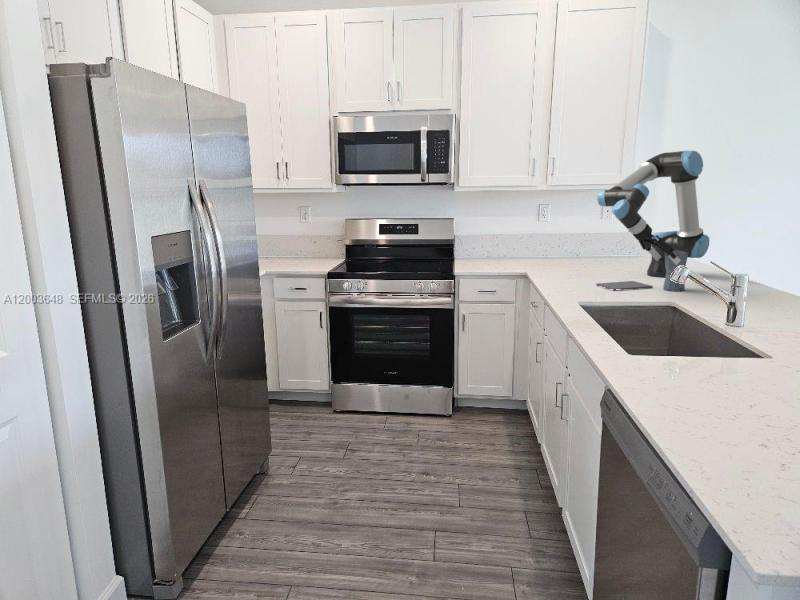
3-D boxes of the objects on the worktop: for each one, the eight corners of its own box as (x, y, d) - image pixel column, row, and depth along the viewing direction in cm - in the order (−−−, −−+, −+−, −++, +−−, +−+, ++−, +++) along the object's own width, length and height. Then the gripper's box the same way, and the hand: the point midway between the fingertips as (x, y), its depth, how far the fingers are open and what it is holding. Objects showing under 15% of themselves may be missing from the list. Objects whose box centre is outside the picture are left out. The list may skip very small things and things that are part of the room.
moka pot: (663, 292, 236) (666, 248, 231) (660, 286, 250) (663, 244, 245) (687, 293, 232) (690, 248, 228) (682, 286, 246) (686, 244, 242)
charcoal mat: (633, 282, 261) (633, 280, 260) (652, 288, 246) (652, 285, 246) (596, 285, 257) (596, 283, 257) (613, 290, 243) (613, 288, 243)
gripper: (618, 233, 244) (646, 263, 249) (650, 237, 220) (680, 270, 225) (629, 221, 244) (657, 251, 249) (663, 224, 220) (693, 257, 225)
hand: (668, 260), depth 237 cm, fingers open, 13 cm apart
